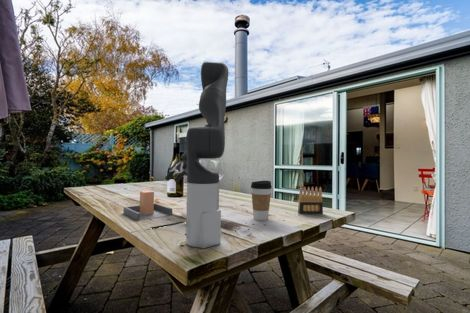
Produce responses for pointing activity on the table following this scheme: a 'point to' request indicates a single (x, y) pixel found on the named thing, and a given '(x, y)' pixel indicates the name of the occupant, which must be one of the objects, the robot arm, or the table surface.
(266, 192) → the coffee cup
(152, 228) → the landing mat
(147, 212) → the block
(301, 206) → the ammunition clip
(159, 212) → the grey square tray
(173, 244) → the table surface
